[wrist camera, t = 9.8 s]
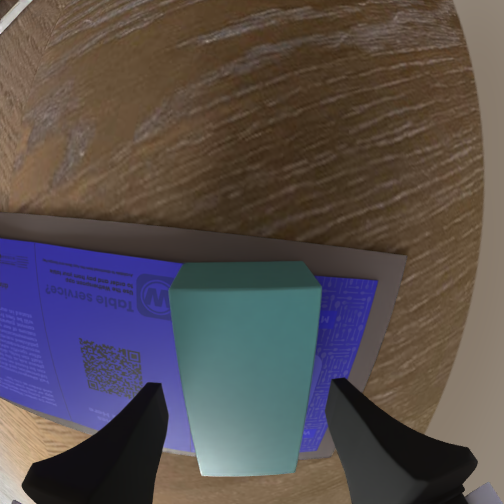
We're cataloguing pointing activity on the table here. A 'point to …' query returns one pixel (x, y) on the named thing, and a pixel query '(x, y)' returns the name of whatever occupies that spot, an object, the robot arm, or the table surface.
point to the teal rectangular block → (246, 361)
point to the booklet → (159, 317)
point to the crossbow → (13, 14)
